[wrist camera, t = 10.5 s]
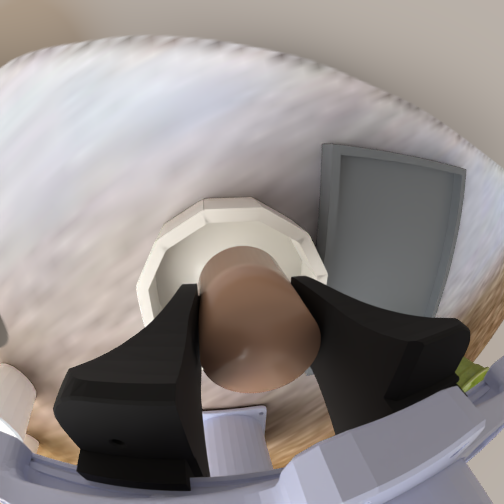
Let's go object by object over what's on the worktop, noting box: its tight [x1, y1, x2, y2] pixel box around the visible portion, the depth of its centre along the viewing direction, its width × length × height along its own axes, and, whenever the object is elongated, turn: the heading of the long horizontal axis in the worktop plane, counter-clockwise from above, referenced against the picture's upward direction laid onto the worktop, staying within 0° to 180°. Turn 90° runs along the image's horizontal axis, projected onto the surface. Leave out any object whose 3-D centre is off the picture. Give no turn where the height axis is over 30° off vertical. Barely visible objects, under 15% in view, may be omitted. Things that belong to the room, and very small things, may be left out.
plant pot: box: [455, 356, 489, 392], centre depth 23 cm, size 9×9×9 cm
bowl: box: [136, 197, 328, 370], centre depth 17 cm, size 11×11×3 cm
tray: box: [305, 144, 466, 376], centre depth 20 cm, size 18×14×2 cm
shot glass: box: [0, 363, 36, 443], centre depth 15 cm, size 7×7×7 cm
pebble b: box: [198, 246, 321, 393], centre depth 10 cm, size 4×4×4 cm
